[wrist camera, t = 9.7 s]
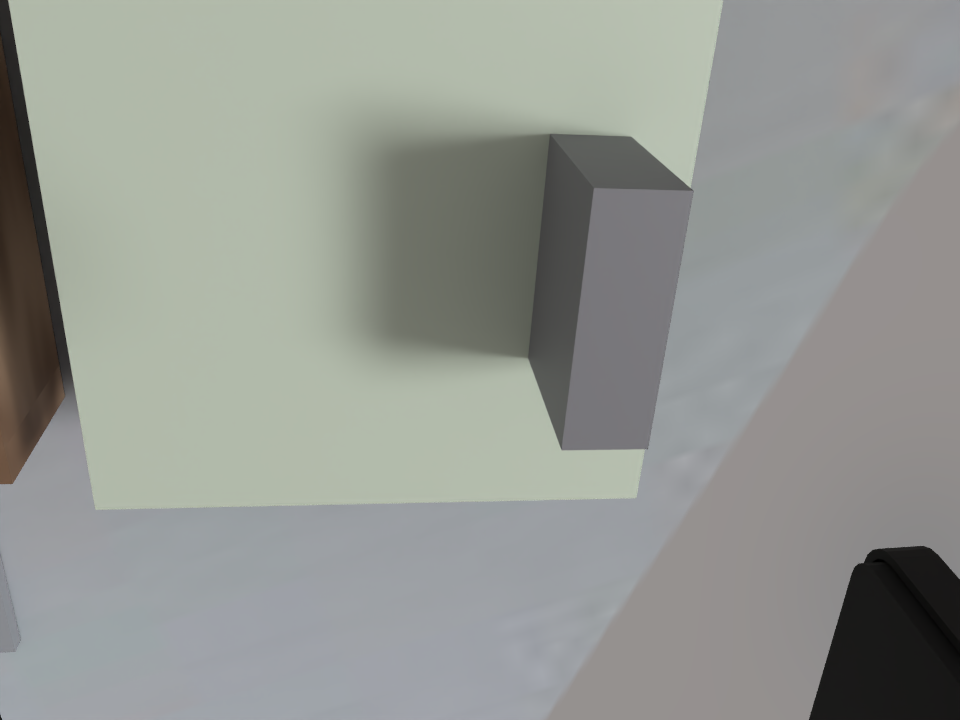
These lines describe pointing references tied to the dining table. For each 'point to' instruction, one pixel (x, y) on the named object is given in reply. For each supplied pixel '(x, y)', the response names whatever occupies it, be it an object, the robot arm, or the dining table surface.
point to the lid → (365, 240)
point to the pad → (7, 617)
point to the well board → (21, 309)
